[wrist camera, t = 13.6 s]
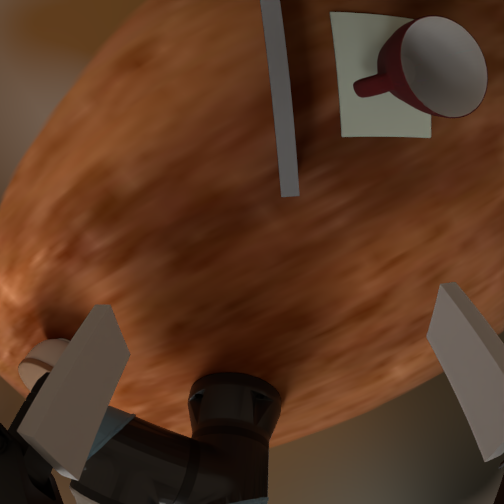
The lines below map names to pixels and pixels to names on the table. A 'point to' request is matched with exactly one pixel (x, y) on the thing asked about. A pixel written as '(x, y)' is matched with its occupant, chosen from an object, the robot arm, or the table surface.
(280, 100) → the corner arena
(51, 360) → the white lidded pot
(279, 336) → the table surface
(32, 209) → the table surface
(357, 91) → the mug
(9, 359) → the table surface
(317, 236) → the table surface
